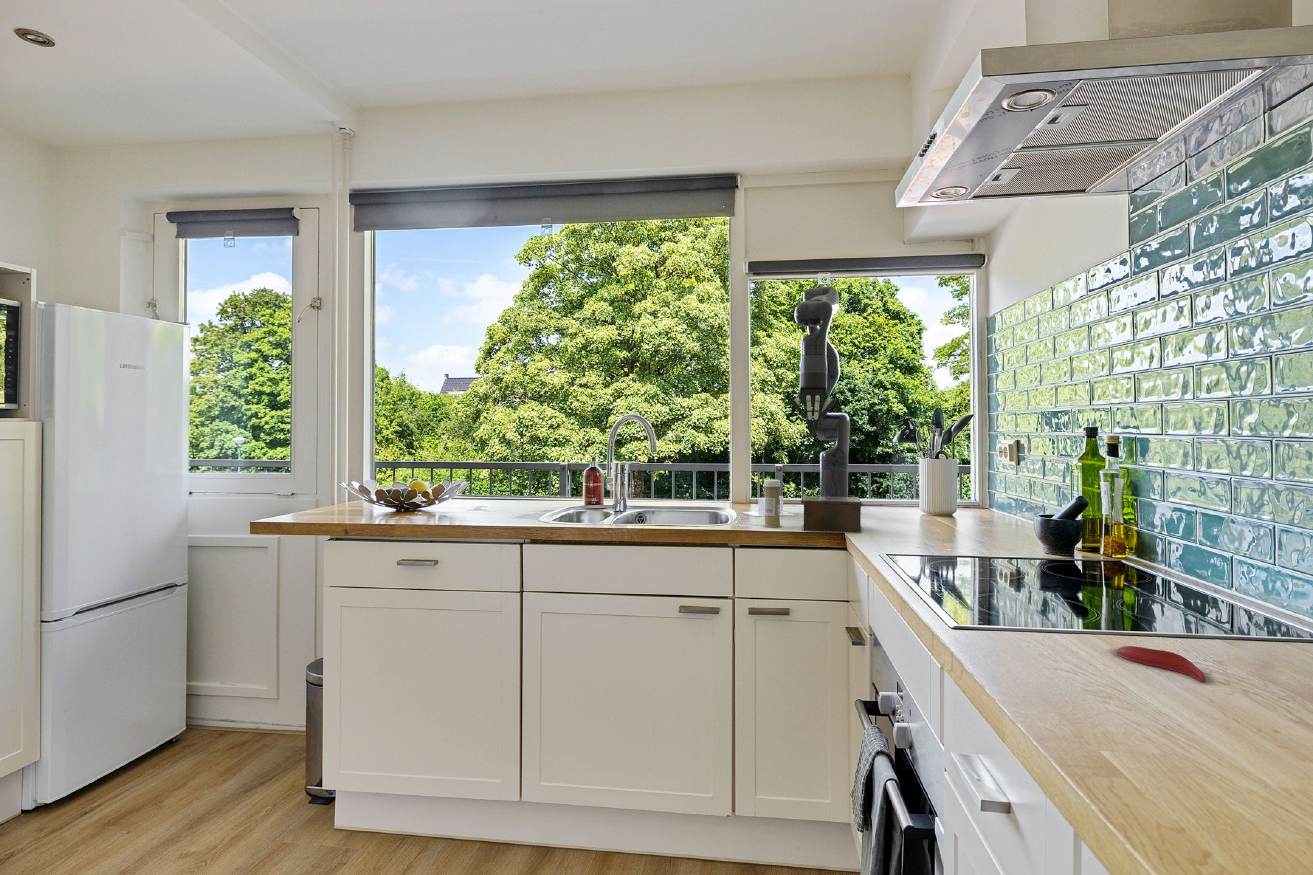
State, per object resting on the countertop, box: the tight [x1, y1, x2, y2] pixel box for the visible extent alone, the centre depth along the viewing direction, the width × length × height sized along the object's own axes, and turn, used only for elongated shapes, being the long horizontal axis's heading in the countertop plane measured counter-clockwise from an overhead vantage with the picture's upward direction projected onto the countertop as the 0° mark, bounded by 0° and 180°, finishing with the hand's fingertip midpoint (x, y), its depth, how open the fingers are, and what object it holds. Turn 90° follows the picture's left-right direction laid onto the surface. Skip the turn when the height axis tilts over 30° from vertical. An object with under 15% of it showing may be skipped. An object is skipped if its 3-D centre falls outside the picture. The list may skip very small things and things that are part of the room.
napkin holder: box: [741, 495, 796, 517], centre depth 243 cm, size 15×11×6 cm
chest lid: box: [800, 495, 862, 506], centre depth 209 cm, size 16×13×1 cm
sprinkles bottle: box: [763, 479, 781, 528], centre depth 213 cm, size 5×5×13 cm
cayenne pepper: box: [1116, 645, 1206, 683], centre depth 91 cm, size 12×5×2 cm, turn 7°
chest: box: [803, 503, 862, 534], centre depth 209 cm, size 15×13×8 cm
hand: (812, 433), depth 210 cm, fingers closed
